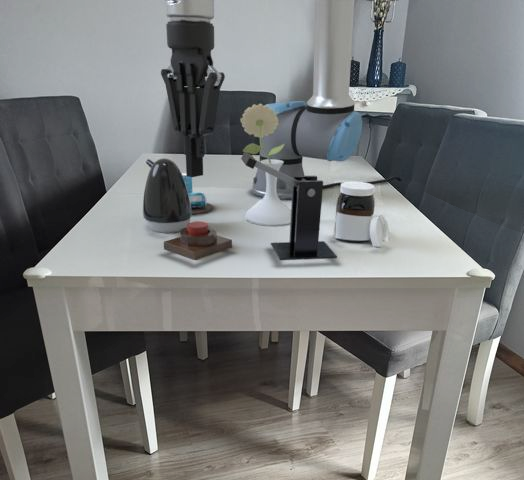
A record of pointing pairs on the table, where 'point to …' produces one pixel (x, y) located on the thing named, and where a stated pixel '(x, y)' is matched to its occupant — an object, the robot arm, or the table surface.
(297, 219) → the lever bracket
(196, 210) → the teal cans on tray
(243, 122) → the flower in vase
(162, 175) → the pump dispenser
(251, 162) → the pivoting lever
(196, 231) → the red push button
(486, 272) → the table surface
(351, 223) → the spread jar
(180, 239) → the switch box
